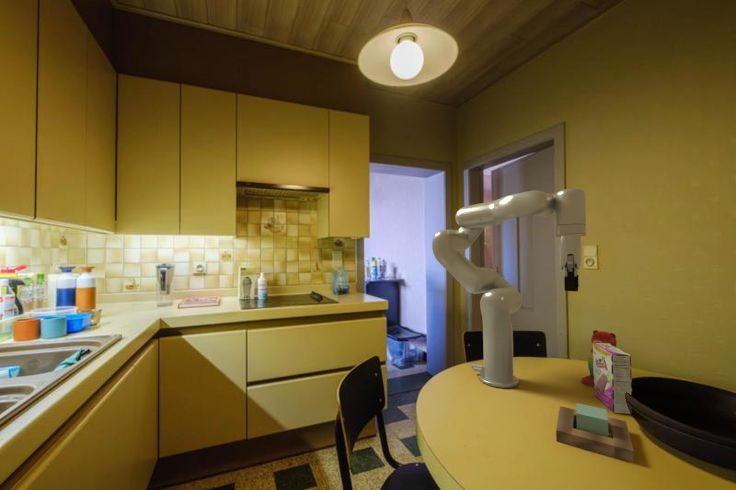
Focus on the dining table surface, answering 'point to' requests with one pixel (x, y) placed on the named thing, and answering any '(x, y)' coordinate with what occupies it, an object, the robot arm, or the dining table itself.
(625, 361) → the candy bar box
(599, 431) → the teal cube
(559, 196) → the robot arm
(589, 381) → the stacking bear
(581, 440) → the walnut puzzle board
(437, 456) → the dining table surface
